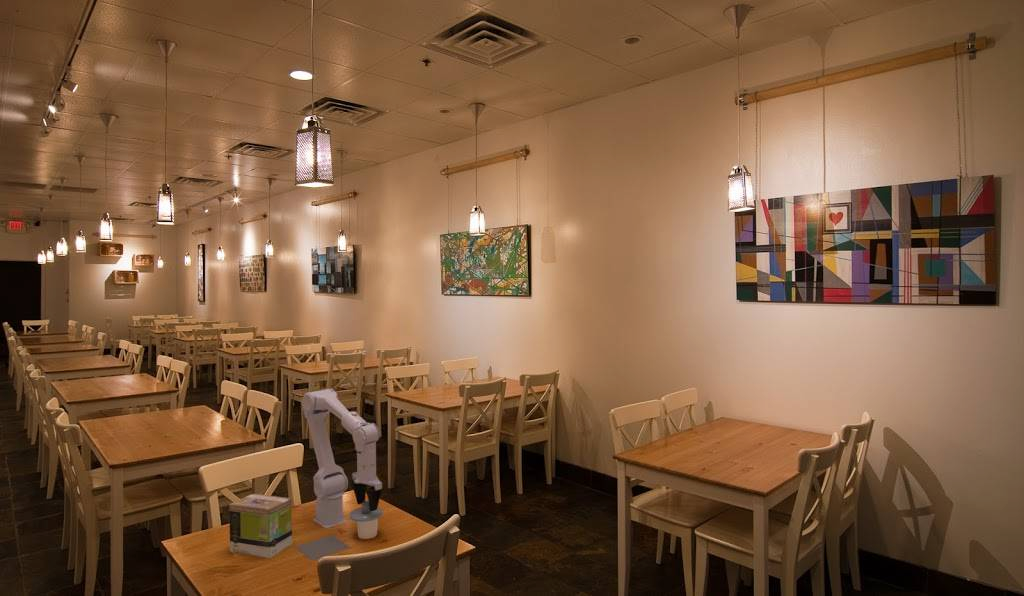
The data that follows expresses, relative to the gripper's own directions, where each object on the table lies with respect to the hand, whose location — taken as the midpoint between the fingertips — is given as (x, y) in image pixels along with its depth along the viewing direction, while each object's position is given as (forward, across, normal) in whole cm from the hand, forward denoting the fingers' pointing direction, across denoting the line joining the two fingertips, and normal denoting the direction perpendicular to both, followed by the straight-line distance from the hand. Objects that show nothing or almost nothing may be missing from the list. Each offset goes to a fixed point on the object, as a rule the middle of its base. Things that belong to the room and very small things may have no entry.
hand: (367, 506), depth 180 cm
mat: (+9, -2, -14) cm, 17 cm away
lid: (+2, 0, 0) cm, 3 cm away
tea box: (+10, -15, -27) cm, 32 cm away
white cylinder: (+10, 0, 0) cm, 10 cm away
